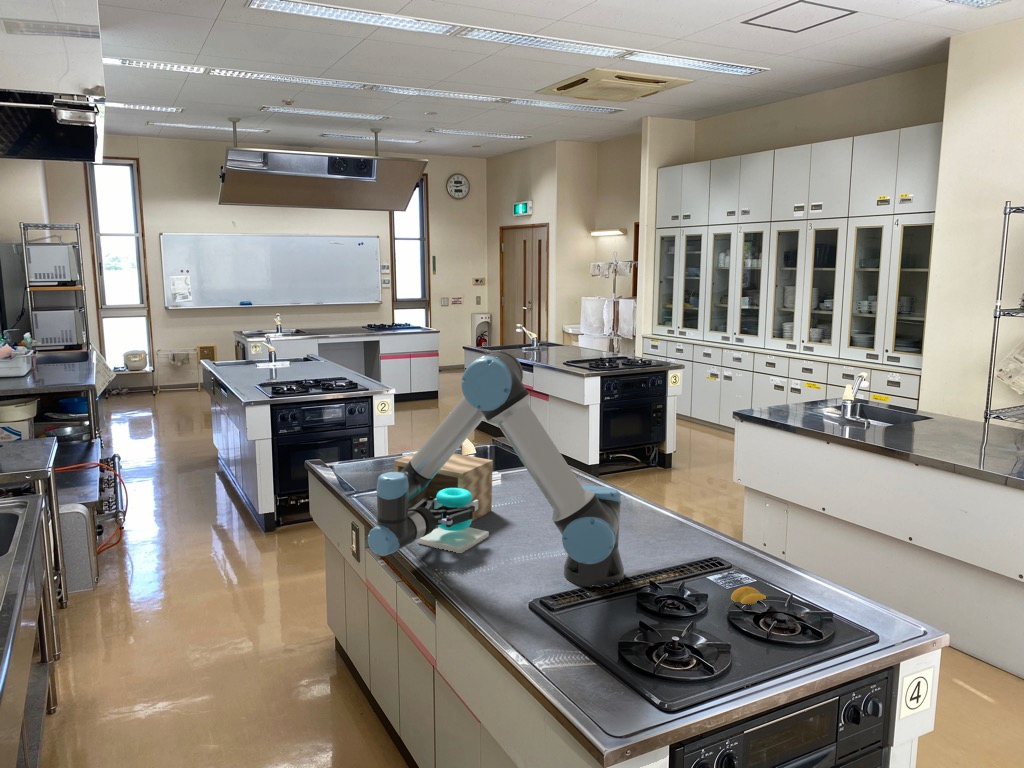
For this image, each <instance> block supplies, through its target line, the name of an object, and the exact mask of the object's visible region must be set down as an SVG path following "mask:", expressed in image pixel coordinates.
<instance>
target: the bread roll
mask: <svg viewBox="0 0 1024 768" xmlns="http://www.w3.org/2000/svg"><path fill="white" fill-rule="evenodd" d="M766 596H767V595H765V594H763V593H761V592H760V591H759V590H758V589H756V588H754V587H752V586H749V585H748V586H747V585H746V586H741V587H738V588H736V589H735V590H734V591H733V592H732V594H731V595H730V598H731V601H732V600H733V601H734V602H741V603H742V604H748V605H749V604H750V605H751V604H755V603H757V601H758V600H763V599H766Z"/></svg>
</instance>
